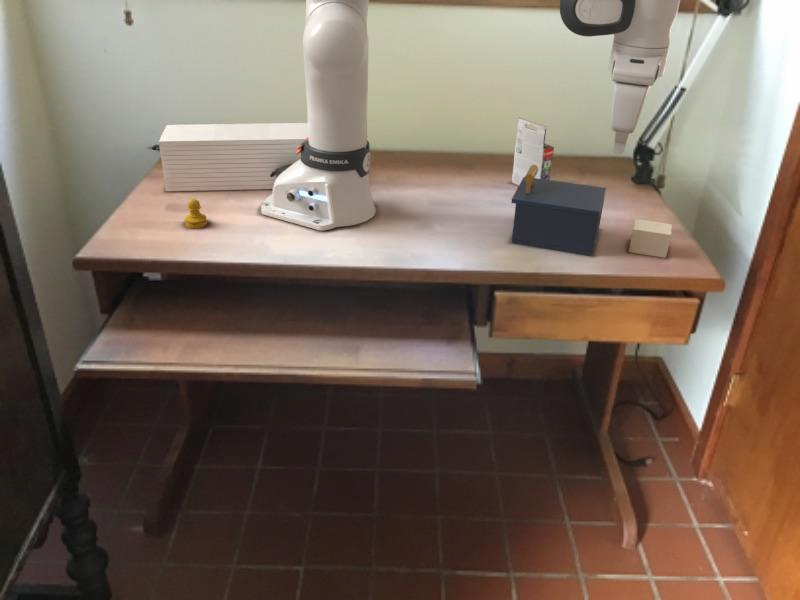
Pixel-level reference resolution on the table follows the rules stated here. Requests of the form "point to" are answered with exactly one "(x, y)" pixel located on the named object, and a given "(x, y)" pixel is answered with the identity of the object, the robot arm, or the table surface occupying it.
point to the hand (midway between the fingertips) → (620, 143)
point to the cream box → (650, 238)
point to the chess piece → (195, 215)
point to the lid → (558, 194)
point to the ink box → (531, 152)
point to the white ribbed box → (228, 154)
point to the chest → (556, 229)
